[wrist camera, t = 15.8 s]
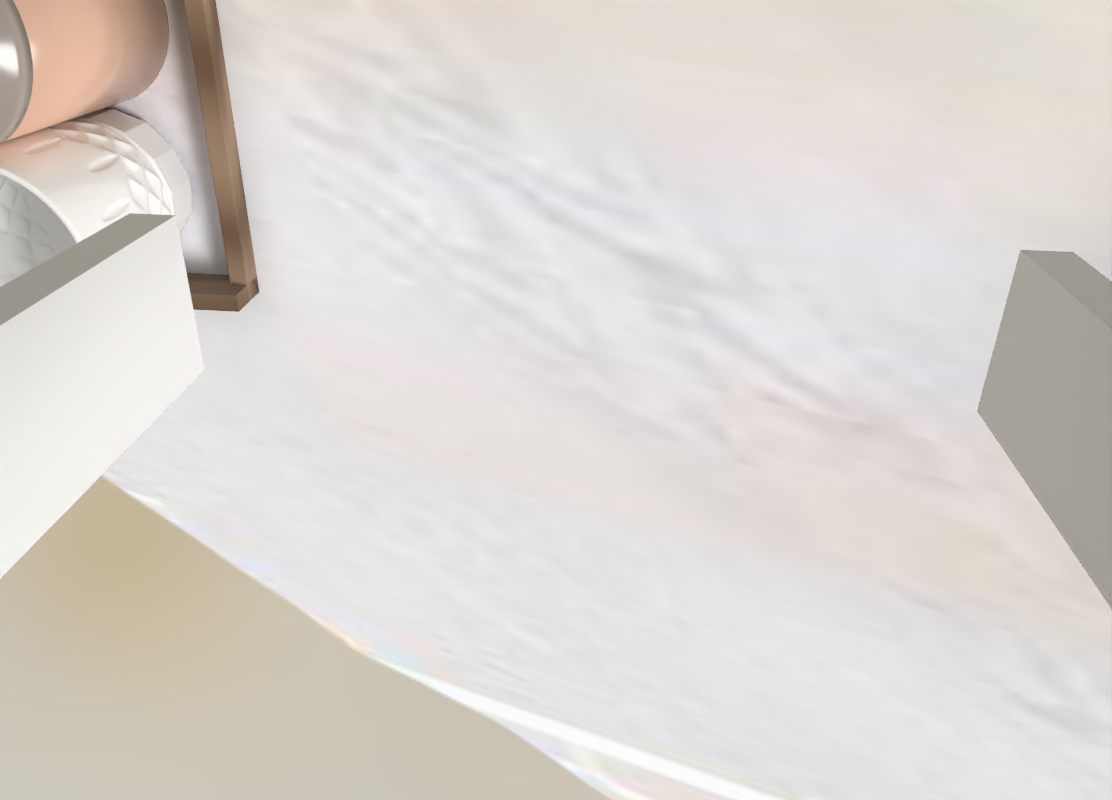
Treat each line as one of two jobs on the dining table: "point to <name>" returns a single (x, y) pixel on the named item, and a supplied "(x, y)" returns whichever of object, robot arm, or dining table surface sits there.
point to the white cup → (83, 185)
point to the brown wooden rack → (220, 168)
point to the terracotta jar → (75, 58)
